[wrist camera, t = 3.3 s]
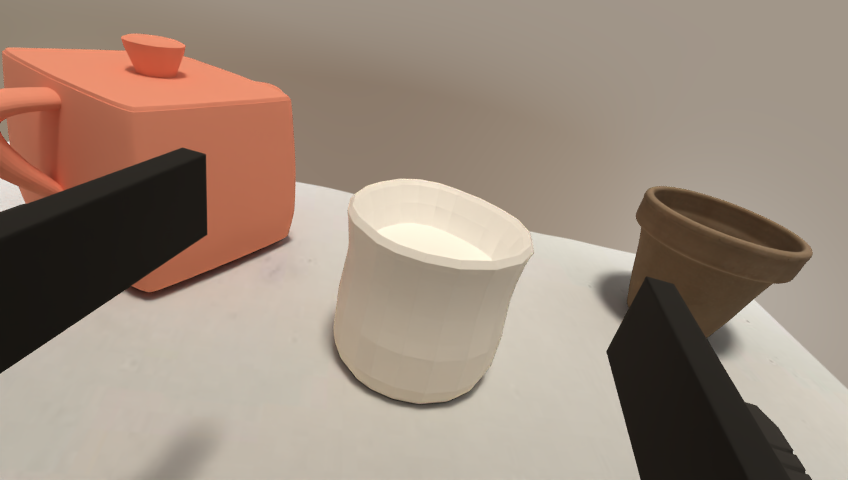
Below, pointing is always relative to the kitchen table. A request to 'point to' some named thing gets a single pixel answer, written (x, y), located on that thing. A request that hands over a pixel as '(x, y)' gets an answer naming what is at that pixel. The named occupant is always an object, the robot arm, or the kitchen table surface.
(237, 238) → the teapot
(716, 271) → the flower pot
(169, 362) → the kitchen table surface
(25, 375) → the kitchen table surface
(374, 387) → the cup
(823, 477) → the kitchen table surface
